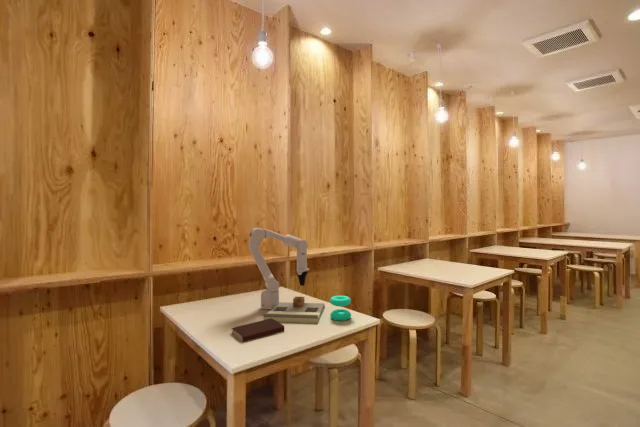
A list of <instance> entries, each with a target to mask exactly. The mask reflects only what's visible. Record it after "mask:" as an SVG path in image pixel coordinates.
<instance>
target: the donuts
mask: <svg viewBox="0 0 640 427" xmlns="http://www.w3.org/2000/svg"><path fill="white" fill-rule="evenodd" d="M329 302H330V304H331V305H333V306H335V307H339V308H337V309H334V310H332V311H331V312H330V314H329V315H330V318H331V319H332V320H334V321H339V322H341V321H342V322H343V321H347V320H350V319H351V316H352V313H351V312H350V311H349V310H348V309H343V308H340V307H346V306H349V305H350V304H351V302H352V299H351V298H350V296H347V295H334V296H331V298H330V299H329Z"/></svg>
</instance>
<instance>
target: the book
mask: <svg viewBox="0 0 640 427" xmlns="http://www.w3.org/2000/svg"><path fill="white" fill-rule="evenodd" d="M231 330H232V331H231V333H232V334H231V335H233V334H234V335H233V336H235V337H236V338H237V337H238V338H237V339H238V340H240V339H241V340H242V341H241V340H240V341H241V342H242V343H244V342H249V341H252V339H253V340H256V338H257V339H259V338H265V337H267V336H271V335H275V334H279V333H283V332H285V325H284V324H282V322H277V321H276V320H274V319H272V318H270V319H266V320H263V319H261V320H259V321H256V322H255V321H254V322H251V323H247V324H243V325H238V326H234V327H232V328H231ZM248 340H249V341H248Z"/></svg>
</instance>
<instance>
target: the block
mask: <svg viewBox="0 0 640 427" xmlns="http://www.w3.org/2000/svg"><path fill="white" fill-rule="evenodd" d="M292 303H293V307H303V306H304V303H305V296H294V297H293V299H292Z"/></svg>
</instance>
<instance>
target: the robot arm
mask: <svg viewBox="0 0 640 427" xmlns="http://www.w3.org/2000/svg"><path fill="white" fill-rule="evenodd" d="M268 238H272V239H274V240H278V241H281V242H283V244H284V245H286V246H288V247H291V248H294V249H295V248H296V271H297V272H296V276H297V278H298V281H299V286H301V287H302V286H303V287H305V284H306V278H307V276H308V271H310V268H308V253H307V250H308V248H309V244H308V242H307V240H305V239H302V238H301V237H297V236H294V235H293V234H292V233H290V234H286V235H284V234H281V233H278V232H275V231H273V230H270V229H266V228H260V227H253V228H252V229H251V230H250V232H249V234H248V246H247V247H248V249H249V252H250V254H251V256H252V257H253V260H254V262H255V264H256V266H257V267H258V270H259V271H260V273H261V276H262V278H263V280H264V286H265V287H266V289H264V290H262V291H261V293H260V310H271V309H272V308H273V307H274V305H278V304H279V302H280V282H279V281H278V280H277V279H276V278H275V277H274V275H273V273H272V271H271V270H270V267H269V266H268V264H267V262H266V260H265V258H264V256H263V254H262V252H261V250H260V248H259V247H260V244H261V242H262V241H263V240H264V239H268Z"/></svg>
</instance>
